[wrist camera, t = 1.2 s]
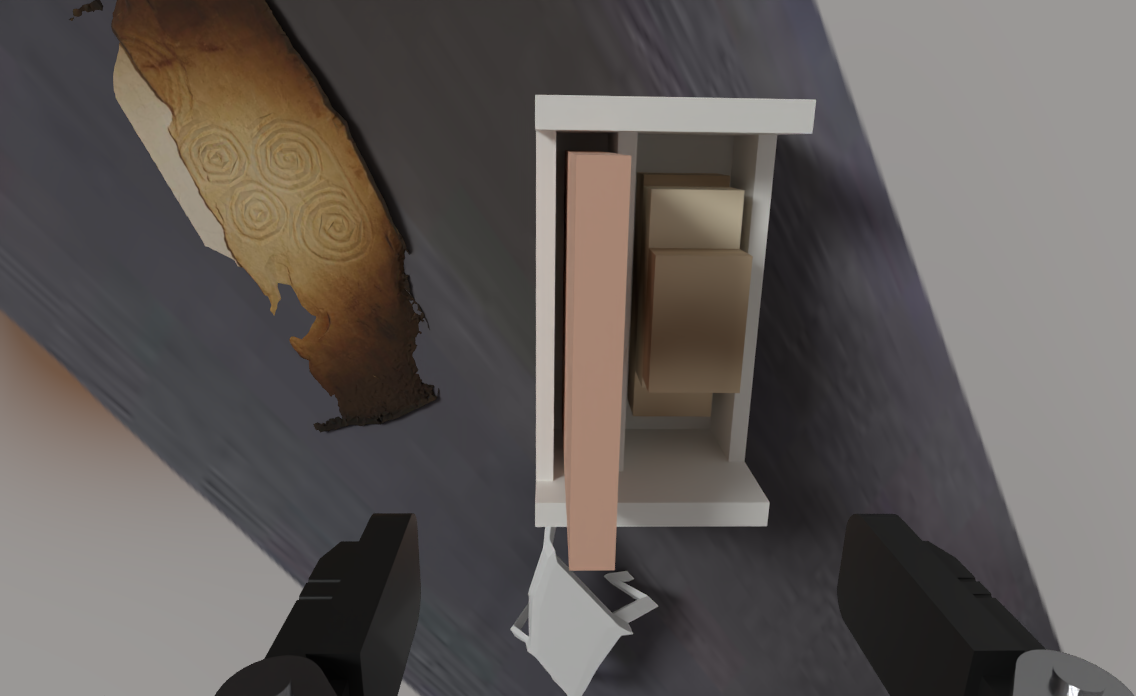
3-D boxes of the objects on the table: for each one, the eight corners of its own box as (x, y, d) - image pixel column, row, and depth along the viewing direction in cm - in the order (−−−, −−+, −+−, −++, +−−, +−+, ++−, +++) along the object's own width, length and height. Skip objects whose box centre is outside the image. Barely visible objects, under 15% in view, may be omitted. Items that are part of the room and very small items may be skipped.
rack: (538, 107, 33) (535, 94, 24) (747, 110, 33) (816, 99, 25) (538, 440, 38) (535, 526, 30) (718, 441, 39) (767, 526, 30)
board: (564, 150, 33) (576, 154, 19) (597, 150, 33) (631, 155, 19) (561, 415, 37) (569, 570, 23) (590, 415, 37) (614, 570, 23)
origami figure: (668, 616, 42) (683, 675, 38) (547, 660, 43) (546, 724, 38) (597, 458, 39) (604, 501, 34) (467, 509, 40) (456, 558, 35)
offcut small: (648, 248, 29) (655, 255, 27) (739, 248, 29) (752, 256, 27) (642, 377, 31) (648, 392, 29) (727, 377, 31) (739, 393, 29)
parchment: (62, 4, 31) (48, 1, 31) (242, -90, 30) (233, -97, 29) (326, 441, 39) (321, 448, 38) (479, 378, 38) (477, 384, 37)
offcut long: (637, 172, 33) (644, 174, 31) (717, 173, 33) (730, 175, 31) (627, 398, 37) (633, 416, 34) (700, 398, 37) (710, 416, 34)
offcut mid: (643, 185, 31) (651, 189, 28) (729, 186, 31) (744, 190, 29) (635, 370, 34) (641, 387, 31) (714, 370, 34) (726, 387, 31)
